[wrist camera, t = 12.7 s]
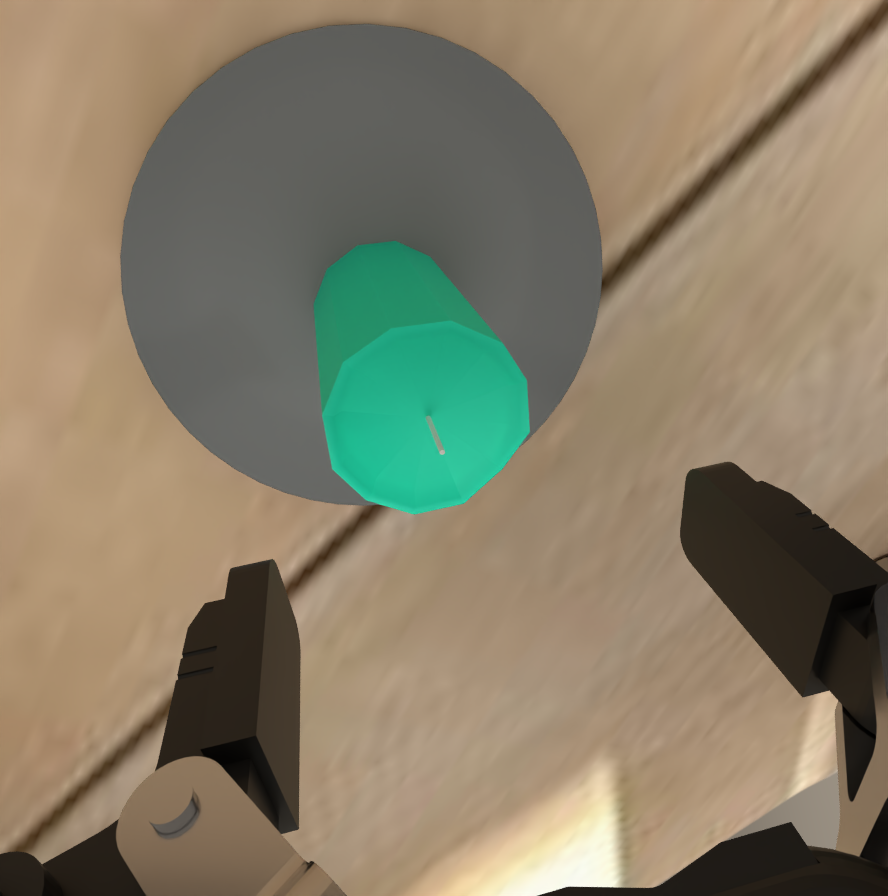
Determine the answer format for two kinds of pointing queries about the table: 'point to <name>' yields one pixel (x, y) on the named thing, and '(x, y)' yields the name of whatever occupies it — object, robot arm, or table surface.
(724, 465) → the robot arm
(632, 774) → the table surface
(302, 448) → the candle tray
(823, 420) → the table surface
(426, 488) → the candle
